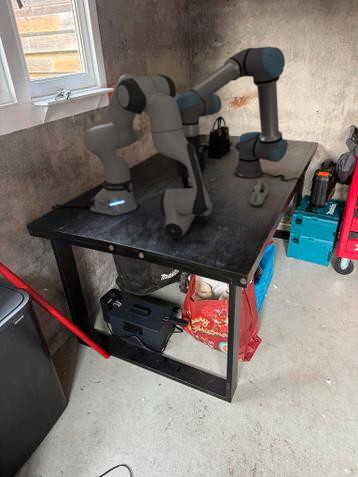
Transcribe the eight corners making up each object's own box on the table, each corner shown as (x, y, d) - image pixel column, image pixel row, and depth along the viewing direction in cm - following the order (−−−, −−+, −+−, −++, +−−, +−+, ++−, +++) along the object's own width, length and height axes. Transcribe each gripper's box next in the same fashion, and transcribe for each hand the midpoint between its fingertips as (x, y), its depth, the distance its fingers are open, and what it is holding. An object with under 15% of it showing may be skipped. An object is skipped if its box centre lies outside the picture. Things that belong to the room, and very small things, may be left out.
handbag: (218, 159, 217) (218, 119, 204) (206, 157, 221) (205, 119, 209) (231, 151, 232) (232, 114, 219) (219, 150, 236) (220, 113, 224)
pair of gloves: (198, 151, 236) (198, 144, 233) (184, 143, 256) (183, 137, 254) (234, 145, 246) (235, 137, 243) (218, 138, 266) (218, 131, 263)
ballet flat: (269, 188, 169) (270, 173, 165) (265, 208, 149) (266, 191, 145) (252, 187, 171) (253, 172, 167) (246, 206, 151) (247, 190, 147)
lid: (198, 181, 144) (198, 177, 143) (197, 185, 139) (197, 181, 138) (186, 181, 145) (186, 177, 144) (184, 185, 140) (184, 181, 139)
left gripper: (209, 207, 131) (215, 194, 142) (160, 204, 137) (170, 191, 148) (209, 221, 134) (215, 207, 146) (162, 217, 140) (171, 204, 151)
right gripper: (202, 129, 139) (203, 181, 150) (165, 137, 130) (169, 191, 142) (213, 132, 133) (213, 186, 145) (175, 140, 125) (178, 197, 136)
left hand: (192, 199), depth 147 cm, fingers closed on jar, 4 cm apart
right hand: (191, 188), depth 143 cm, fingers closed on lid, 5 cm apart
